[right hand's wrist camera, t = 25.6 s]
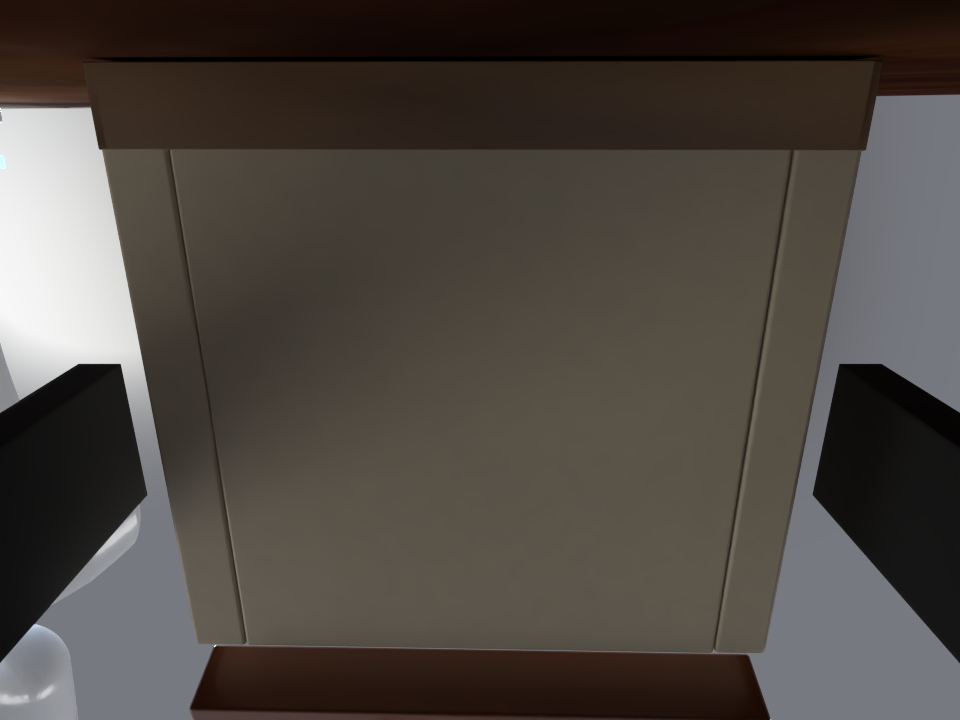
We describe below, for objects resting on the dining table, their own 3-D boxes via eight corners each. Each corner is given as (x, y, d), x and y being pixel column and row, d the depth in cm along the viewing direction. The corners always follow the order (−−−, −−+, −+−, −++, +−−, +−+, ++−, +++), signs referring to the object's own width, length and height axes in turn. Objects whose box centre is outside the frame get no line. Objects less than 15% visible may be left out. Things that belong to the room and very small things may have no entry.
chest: (645, 94, 20) (623, 368, 23) (334, 94, 20) (353, 365, 23) (883, 59, 8) (767, 656, 11) (81, 61, 8) (194, 645, 11)
